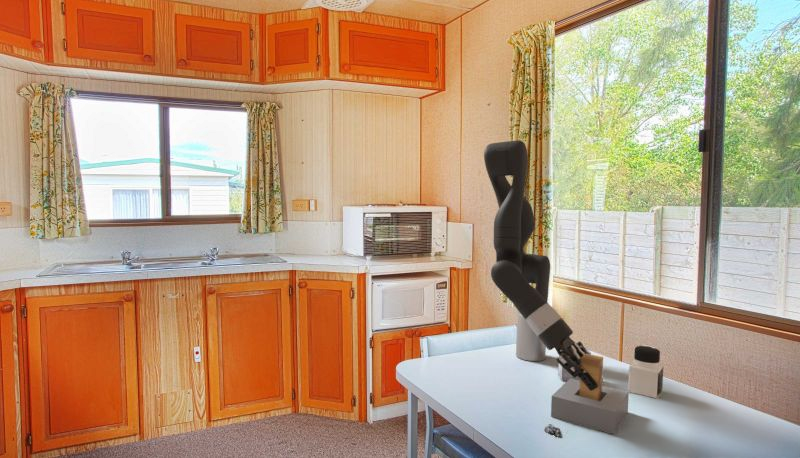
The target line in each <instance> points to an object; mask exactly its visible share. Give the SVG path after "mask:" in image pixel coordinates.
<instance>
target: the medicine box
mask: <svg viewBox="0 0 800 458" xmlns="http://www.w3.org/2000/svg"><path fill="white" fill-rule="evenodd" d="M585 349H586V350H587V352H588V353H589V354H591V355H592V353H591V351H590V350H589V349H588V348H587V347H585ZM571 370H572V369H571ZM572 371H573V370H572ZM557 372H558V374H557V375H558V377H559V379H560V381H562V382H567V381H568V380H569V379H575V380H579V381H580V378H578V377H575V378H574V377H573V376H572V375H571V374H570V373H569V372H568V371H566V370H565V369H564V368H563V367H562V366H561V365H560V364H559V363H558V371H557Z"/></svg>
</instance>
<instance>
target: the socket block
mask: <svg viewBox="0 0 800 458" xmlns="http://www.w3.org/2000/svg"><path fill="white" fill-rule="evenodd" d="M579 393H580V381H579V380H575V379H569V380H568V381H565V383H563V384H562V385H561V387H559V388H558V389H557V390H556V391H555V392H554V393H553V394H552V395H551V405H550V406H551V407H550V408H551V409H550V417H552V418H554V419H558V420H562V421H566V422H569V423H573V424H577V425H580V426H583V427H587V428H590V429H594V430H598V431H602V432H605V433H608V434H612V435H615V434H616V432H617V431H618V429H619V427H620V426H621V424H622V423H623V421H624V419H625V418H626V416H627V415H628V412H629V394H630V392H629V391H628V390H627V391H626V390H622V389H617V388H614V387H613V388H612V387H610V386H605V385H602V393H601V401H598V400H594V399H590V398H586V397H582V396H579Z"/></svg>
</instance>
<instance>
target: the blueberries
mask: <svg viewBox="0 0 800 458" xmlns="http://www.w3.org/2000/svg"><path fill="white" fill-rule="evenodd" d="M543 431H544V433H546V434H547V433H548V435H550V436H553V435H554V436H555V437H554V436H553V437H554V438H557V437H558V438H560V439H561V438H562V437H563V436H562V434H561V433H562V432H561V429H560V428H559V427H557V426H554V425H553V424H551V423H549V424H548V425H546V426H544V429H543ZM565 431H567V429H565Z"/></svg>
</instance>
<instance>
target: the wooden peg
mask: <svg viewBox="0 0 800 458" xmlns="http://www.w3.org/2000/svg"><path fill="white" fill-rule="evenodd" d="M581 361H582V365H583V366H584V368H585V369H586V370H587V372H588V373H589V374H590V375H591V377H592V378H593V379H594V380H595V382H596V383H597V384H598V387H597V388H595V389H594V390H592V391H591V390H589V388H588V387H587V386H586V385H585V384H584V382H583V381H582V380H581V379H580V393H579V396H582V397H586V398H590V399H594V400H598V401H601V393H602V386H603V381H602V378H603V371H604V370H603V369H604V367H603V366H604V356H600V355H596V354H592V353H591V354H585V355H584V356H583V357H581Z"/></svg>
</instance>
